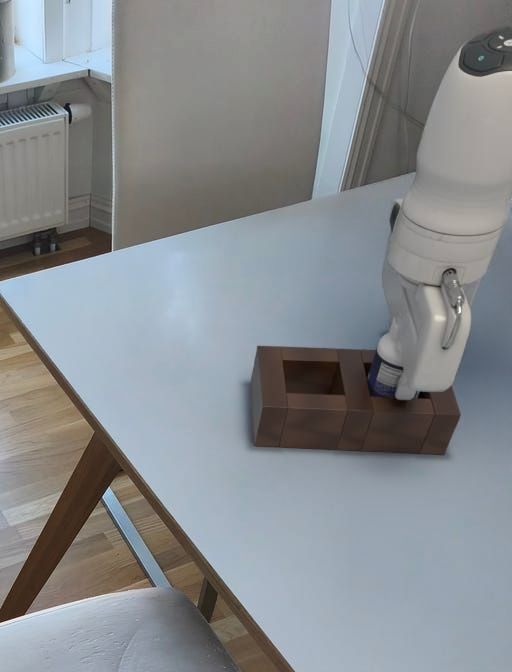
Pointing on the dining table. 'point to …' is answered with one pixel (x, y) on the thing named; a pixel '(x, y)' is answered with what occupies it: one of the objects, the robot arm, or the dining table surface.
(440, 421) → the socket block
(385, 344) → the pill bottle
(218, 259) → the dining table surface
